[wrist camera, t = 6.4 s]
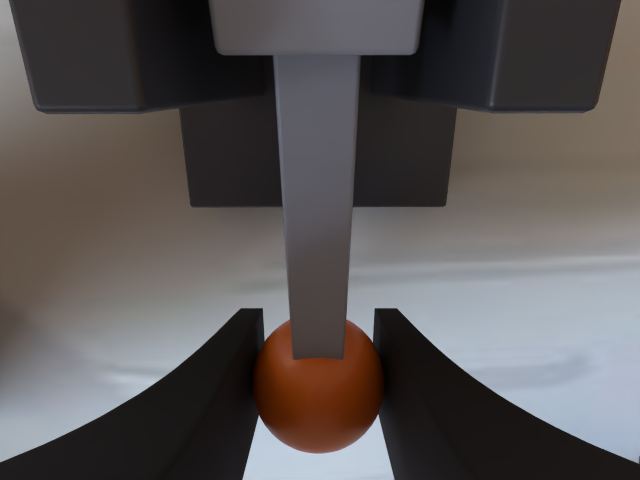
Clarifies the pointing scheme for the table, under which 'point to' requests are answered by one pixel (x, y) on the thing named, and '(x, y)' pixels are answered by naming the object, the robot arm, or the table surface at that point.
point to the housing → (259, 85)
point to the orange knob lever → (317, 205)
